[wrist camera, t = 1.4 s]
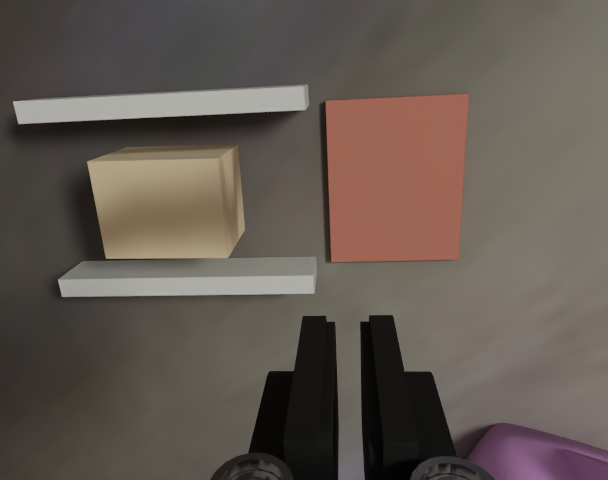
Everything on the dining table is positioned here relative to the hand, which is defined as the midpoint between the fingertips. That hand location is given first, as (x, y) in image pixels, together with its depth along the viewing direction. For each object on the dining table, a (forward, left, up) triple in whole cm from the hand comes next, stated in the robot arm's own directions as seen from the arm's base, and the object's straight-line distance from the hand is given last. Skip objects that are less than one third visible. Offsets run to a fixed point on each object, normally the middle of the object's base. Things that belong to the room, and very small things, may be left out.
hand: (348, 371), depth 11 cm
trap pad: (0, +3, -19) cm, 19 cm away
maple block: (0, -10, -19) cm, 22 cm away
